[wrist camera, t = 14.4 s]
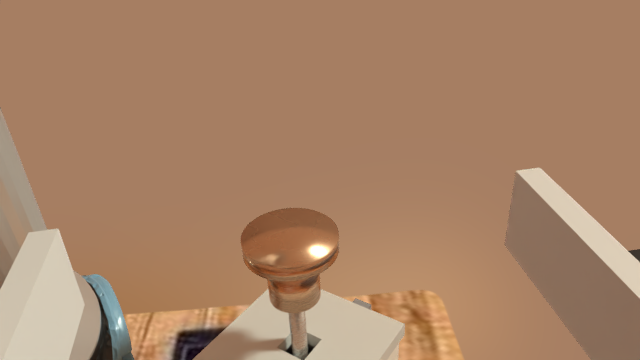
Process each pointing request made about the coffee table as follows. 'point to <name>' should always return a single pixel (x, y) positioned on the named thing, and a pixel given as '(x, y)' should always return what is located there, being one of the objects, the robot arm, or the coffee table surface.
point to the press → (309, 333)
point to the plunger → (291, 262)
